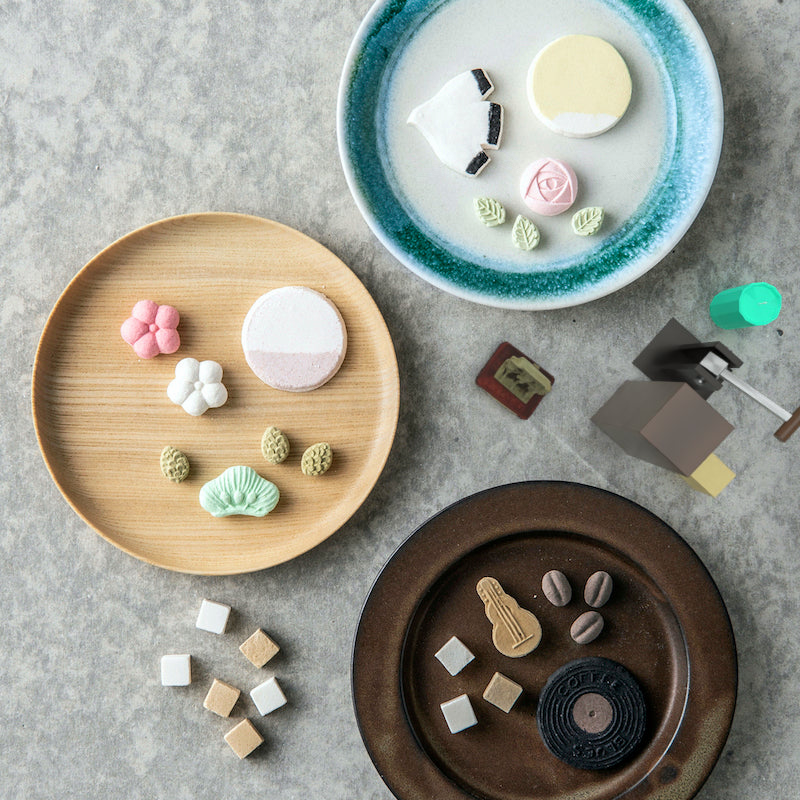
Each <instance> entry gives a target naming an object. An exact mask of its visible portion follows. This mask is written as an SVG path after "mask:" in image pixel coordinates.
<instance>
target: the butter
mask: <svg viewBox="0 0 800 800" xmlns="http://www.w3.org/2000/svg"><path fill="white" fill-rule="evenodd" d="M677 475H678V476H679V477H680V478H681V479H683V480H684V482H686V483H687V484H688V486H690V487H691V488H692V489H693V490H695V491H697V492H700V493H702V494H704V495H707V496H709V497H711V498H714V499H715V498H717V496H719V494H721V492H722V491H723V490H724V489H725V488H726V487H727V486H728V485H729V484H730V483H731V482H732V481H733V480H734V479H735V477H736V476H737V474H736V473H735V472H734V471H732V469H730V467H729V466H728V465H727V464H725V463H724V462H723V461H722V460H721V459H720V458H719V457H717V456H716V455H715V454H714V453H713V452H712V453H711V454H710V455H709V456H708V457H707V458H706V460H705V461H704V462H703V463H702V464H701V465H700V466H699V467H698V468H697V469H696V470H695V471H694V472H693V473H692V474H691V475H690V476H689V477H685V476H683V475H680V474H677Z"/></svg>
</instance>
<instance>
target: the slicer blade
mask: <svg viewBox="0 0 800 800" xmlns="http://www.w3.org/2000/svg"><path fill="white" fill-rule="evenodd" d="M700 365H701V366H702V367H703V368H704V369H705V370H707V371H708V372H709V373H710V374H711V375H712V376H713V377H714V378H716V379H718V378H719V377H721V378H722V379H724V382H726V383H728V385H731V386H732V387H734V388H735V389H736V390H738V392H740V393H742V394H743V395H745V396H746V397H747V398H750V400H751V401H753V402H755V403H756V404H758V405H759V406H760V407H762V408H763V409H765V410H766V411H767V412H769V413H771V414H772V415H773V416H774V417H776V418H777V419H778V420H780V421H781V422H783V423H782V424H781V425H780V426H779V427H778V429H776V430H775V431H774V433H773V435H772V436H773V437H774V438H775V439H776V440H777V441H779V442H780V443H782V444H785V443H786V442H787V441H788V440H790V438H791V437H792V436H793V435H794V434H795V433H796V431H798V429H799V428H800V405H799V406H797V408H796V409H795V410H794V411H793V412H791V413H790V412H789V411H788V410H786V409H784V407H782V406H780V405H779V404H777V403H776V402H774V401H773V400H771V399H770V398H769V397H768V396H766V395H764V394H763V393H761V392H760V391H759V390H757V389H756V388H754V387H753V386H752V385H750V384H748V383H747V382H745V381H744V380H743V379H741V378H740V377H739V376H737V375H736V374H734V373H732V372H730V371H728V370H727V366H728V363H727V362H725V361H724V360H722V359H721V358H720V357H718V356H717V355H715V354H714V353H712V352H711V351H710V352H709V353H708V354H707V356H706V357H705V358H704V359H703V360H702V361H701V362H700Z"/></svg>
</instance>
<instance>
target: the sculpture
mask: <svg viewBox="0 0 800 800" xmlns="http://www.w3.org/2000/svg"><path fill="white" fill-rule="evenodd" d="M555 381H556V378H555V376H554V375H552V374H551V373H550V372H548V371H547V370H546V369H544V368H543V367H542V366H541V365H539V364H538V363H537V362H535V361H534V359H531V358H530V357H529V356H527V354H525V353H524V352H522V351H521V350H520V349H518V348H517V347H516V346H514V345H513V344H512V343H510V342H508V341H501V343H500V344H499V345H498V346H497V348H496V349H495V350H494V352H493V353H492V355H491V356H490V357H489V359H488V361H486V363H485V364H484V365H483V367H482V368H481V370H480V371H479V372H478V374H477V375H476V377H475V381H474V383H475V384H476V385H477V387H479V388H480V389H482V390H483V391H484V392H485V394H487V395H488V396H490V397H491V398H492V399H493V400H494V401H495V402H496V403H498V404H499V405H501V406H502V407H503V408H505V409H506V410H508V411H509V412H510V413H511V414H512V415H515V416H516V417H517V418H519V419H520V420H522V421H527V420H529V419H530V417H532V415H533V414H534V412H535V411H536V409H537V407H539V405H540V403H541V402H542V400H543V399H544V397H545V396H546V395H548V394H549V393H551V392H552V390H553V387H552V386H553V385H554V384H555Z"/></svg>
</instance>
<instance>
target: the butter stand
mask: <svg viewBox="0 0 800 800" xmlns="http://www.w3.org/2000/svg"><path fill="white" fill-rule="evenodd" d="M590 421H591V422H592V423H593V424H594V425H595V426H597V428H599V429H600V430H601V432H603V433H604V434H605V435H606V436H607V437H608V438H609V439H610V440H612V441H613V442H614V444H616V445H617V446H618V447H619V448H621V450H622V451H624V453H625V454H627V455H628V456H630V457H632V458H635V459H638V460H640V461H642V462H643V461H644V462H646V463H648V464H651V465H654V466H656V467H659V468H662V469H664V470H666V471H669V472H672V473H674V474H677V475H678V474H680V475H683V476H685V477H689V476H690V475H691V474H692V473H693V472H694V471H695V470H696V469H697V468H698V467H699V466H700V465H701V464H702V463H703V462H704V461H705V460H706V458H707V457H708V456H709V455H710V454H711V453H713V452H714V451H715V450H716V449H717V448H718V447H719V446H720V445H721V444H722V443H723V441H725V439H727V438H728V436H729V435H731V433H732V432H733V431H734V430H735V429H736V428H735V426H734V425H732V424H731V422H729V420H727V419H726V418H725V417H724V416H723V415H722V414H721V413H719V411H717V409H715V408H714V407H713V406H712V405H711V404H710V403H709V402H708V401H707V400H706V401H705V400H704V399H703V398H702V397H701V396H700V395H699V394H698V393H697V392H696V391H695V390H693V389H692V388H691V387H690V386H689V385H688V384H687V383H686V382H662V381H652V380H631V379H626V380H624V382H623V383H622V384H621V385H620V386H619V387H618V388H617V389H616V391H615V392H614V393H613V394H612V395H611V396H610V397H609V398H608V399H607V400H606V401H605V402H604V404H602V405H601V407H600V408H599V409H598V410H597V411H596V412H595V413H594V414H593V415H592V416H591V417H590ZM680 475H679V476H680Z"/></svg>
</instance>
